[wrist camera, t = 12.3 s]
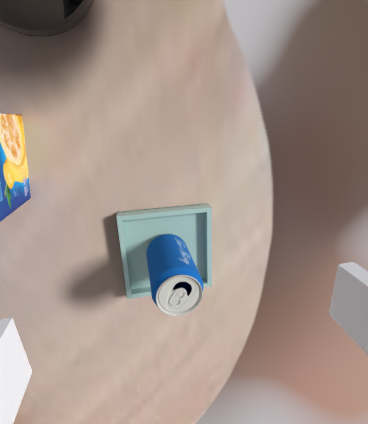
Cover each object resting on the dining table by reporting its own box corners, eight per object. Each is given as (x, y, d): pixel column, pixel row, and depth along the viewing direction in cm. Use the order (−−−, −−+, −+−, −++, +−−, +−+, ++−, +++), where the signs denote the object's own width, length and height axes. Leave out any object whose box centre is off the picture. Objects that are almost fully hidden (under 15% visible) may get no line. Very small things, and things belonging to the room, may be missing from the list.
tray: (116, 212, 40) (116, 216, 38) (207, 203, 42) (211, 207, 40) (127, 291, 44) (127, 298, 42) (208, 279, 47) (211, 286, 45)
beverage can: (193, 241, 43) (216, 283, 32) (174, 273, 44) (189, 325, 33) (157, 225, 41) (168, 264, 30) (138, 259, 42) (142, 309, 31)
